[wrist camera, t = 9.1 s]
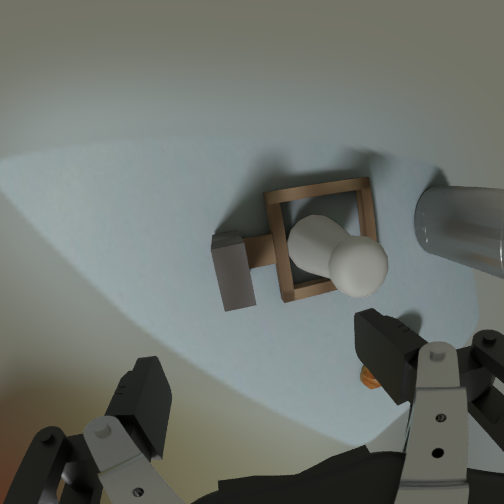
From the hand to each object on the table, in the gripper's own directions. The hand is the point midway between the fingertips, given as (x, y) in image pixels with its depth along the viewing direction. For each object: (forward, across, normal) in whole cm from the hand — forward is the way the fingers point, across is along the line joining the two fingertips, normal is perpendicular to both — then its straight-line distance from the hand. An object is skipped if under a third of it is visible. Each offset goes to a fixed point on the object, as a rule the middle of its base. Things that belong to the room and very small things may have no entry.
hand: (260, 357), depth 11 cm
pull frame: (+19, -7, 0) cm, 21 cm away
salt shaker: (+20, -8, 0) cm, 21 cm away
